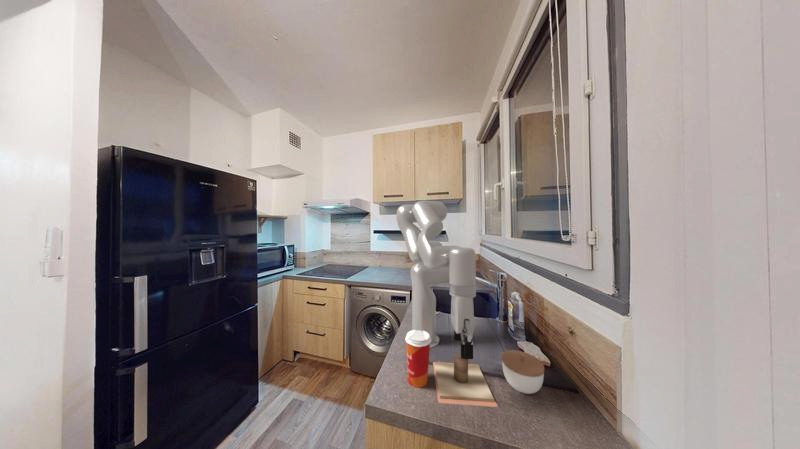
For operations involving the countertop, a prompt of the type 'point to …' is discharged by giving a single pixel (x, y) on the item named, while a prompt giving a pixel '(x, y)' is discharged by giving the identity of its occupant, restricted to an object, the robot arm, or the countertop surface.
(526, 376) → the lidded jar
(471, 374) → the birch lid
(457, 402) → the terracotta mat
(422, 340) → the paper cup
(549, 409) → the countertop surface
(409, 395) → the countertop surface
